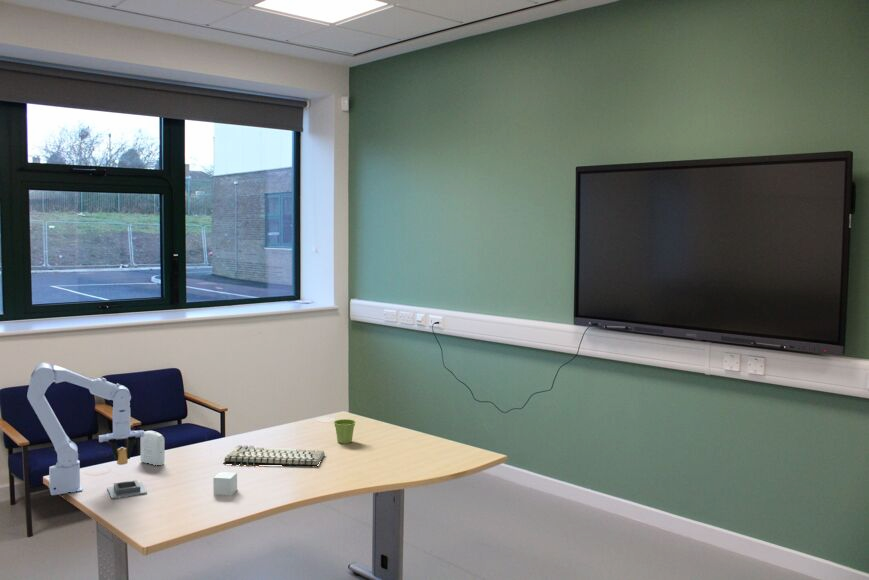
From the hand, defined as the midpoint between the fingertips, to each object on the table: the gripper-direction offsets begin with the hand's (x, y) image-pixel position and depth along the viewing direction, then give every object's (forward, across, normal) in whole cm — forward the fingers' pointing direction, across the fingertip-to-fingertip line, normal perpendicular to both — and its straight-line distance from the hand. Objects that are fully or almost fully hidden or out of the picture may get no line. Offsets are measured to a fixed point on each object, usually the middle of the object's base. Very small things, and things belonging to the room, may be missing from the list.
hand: (122, 459), depth 255 cm
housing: (+8, 0, -10) cm, 13 cm away
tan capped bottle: (+1, 0, 0) cm, 1 cm away
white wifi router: (+9, +13, +17) cm, 23 cm away
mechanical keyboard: (+9, +56, 0) cm, 56 cm away
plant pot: (+9, +89, +9) cm, 90 cm away
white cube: (+9, +29, -26) cm, 40 cm away
